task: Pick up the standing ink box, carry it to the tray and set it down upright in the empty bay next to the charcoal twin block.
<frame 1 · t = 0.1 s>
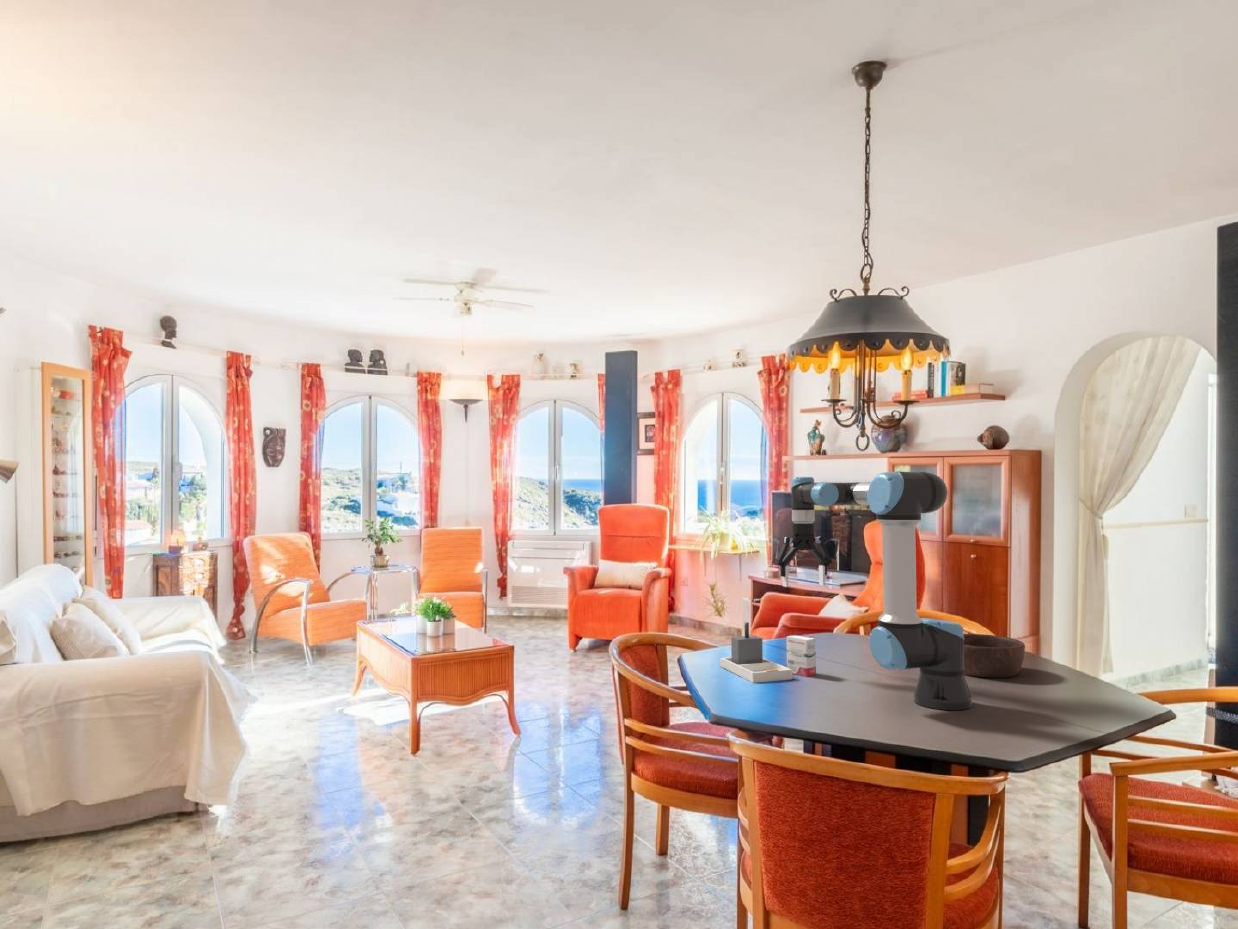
hand: (803, 585, 258), 28 cm above the table, fingers open, 13 cm apart
ink box: (801, 674, 251), on the table
tray: (755, 673, 251), on the table
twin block: (747, 669, 257), resting on tray
wooden bowl: (982, 672, 253), on the table
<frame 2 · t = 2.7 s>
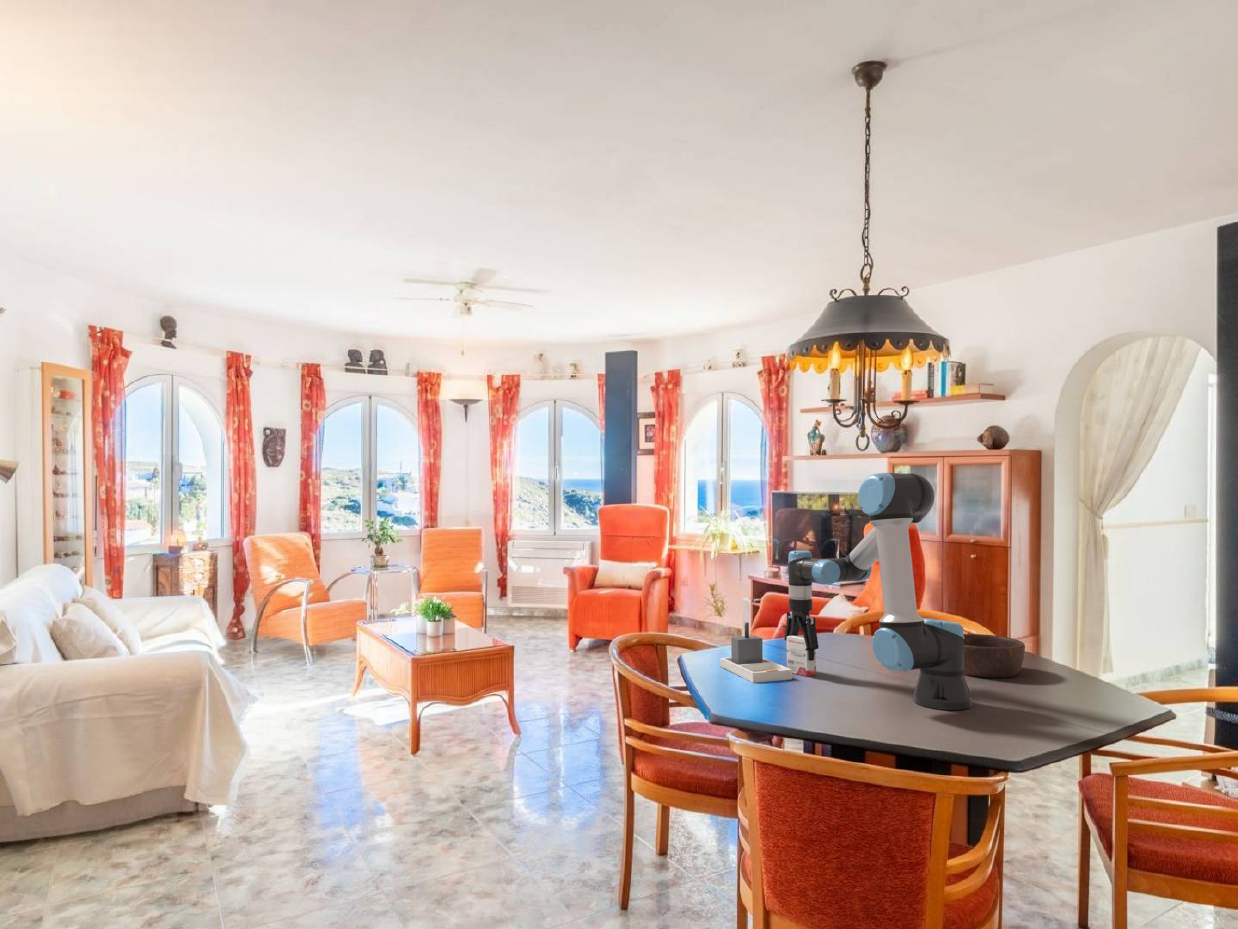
hand: (801, 666, 251), 2 cm above the table, fingers closed on ink box, 9 cm apart
ink box: (801, 674, 251), on the table, touching gripper
everything else where it was.
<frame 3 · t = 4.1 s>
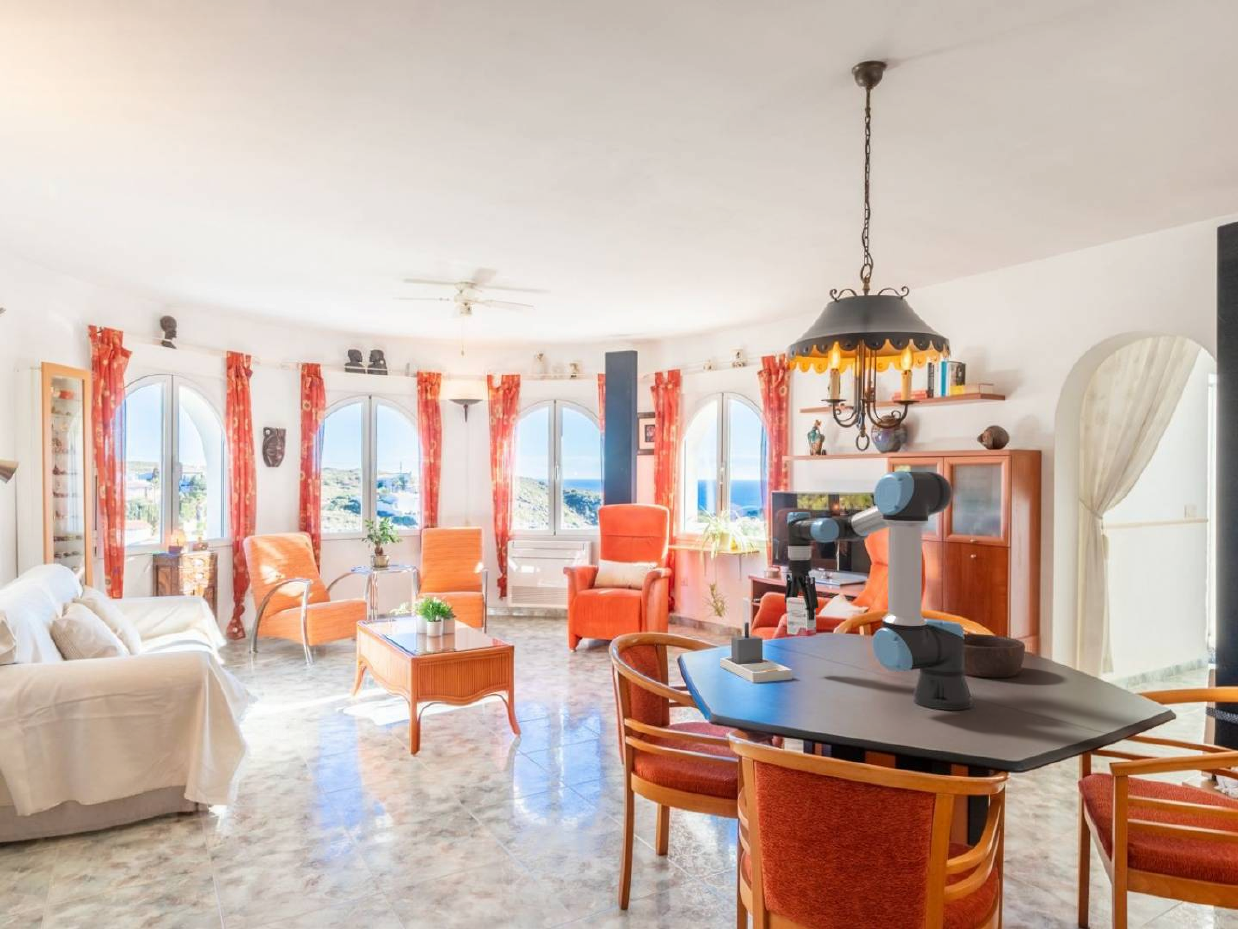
hand: (801, 627, 251), 15 cm above the table, fingers closed on ink box, 9 cm apart
ink box: (801, 635, 251), point 13 cm above the table, touching gripper
everything else where it was.
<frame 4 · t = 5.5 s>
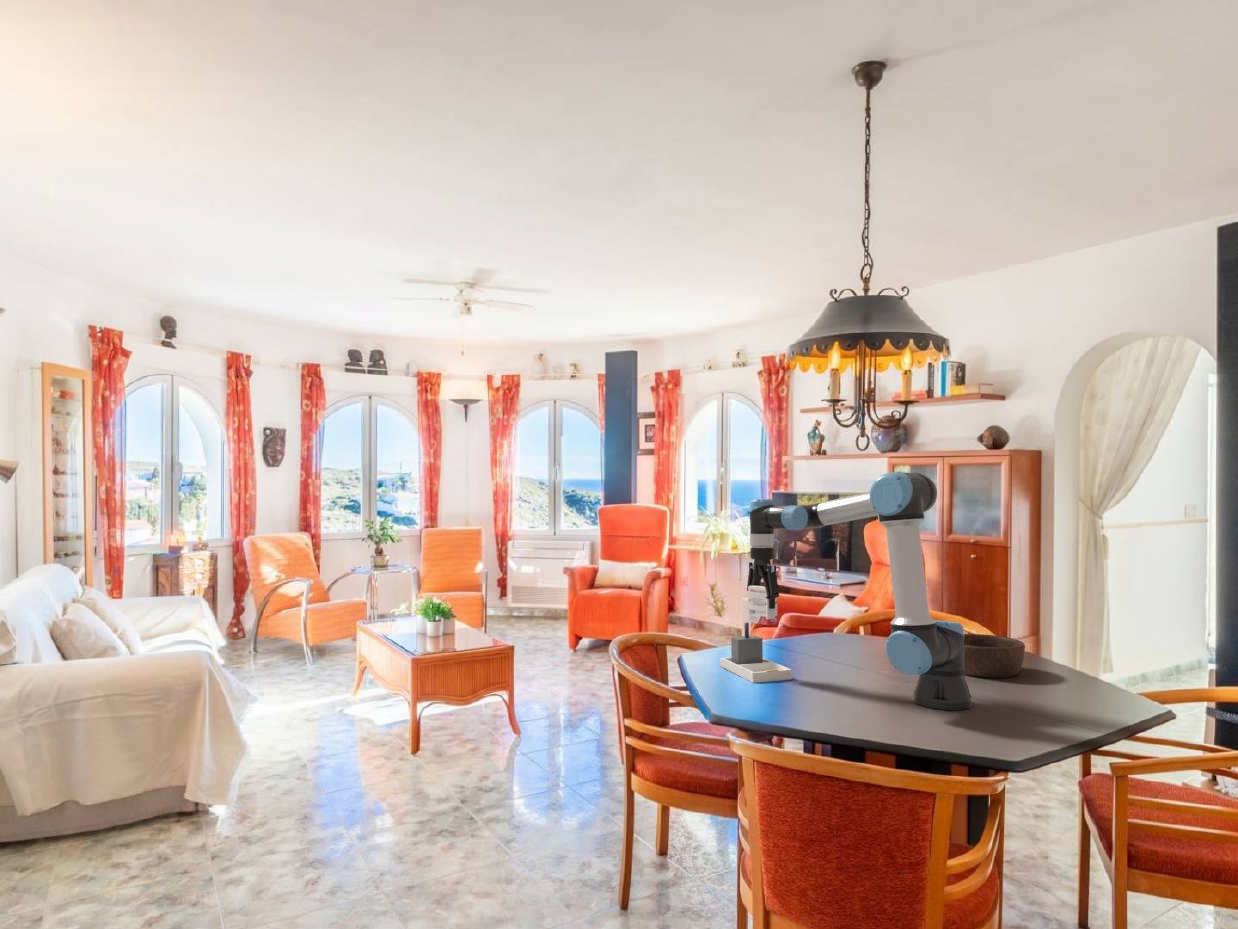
hand: (762, 616, 247), 19 cm above the table, fingers closed on ink box, 9 cm apart
ink box: (762, 623, 247), point 17 cm above the table, touching gripper
everything else where it was.
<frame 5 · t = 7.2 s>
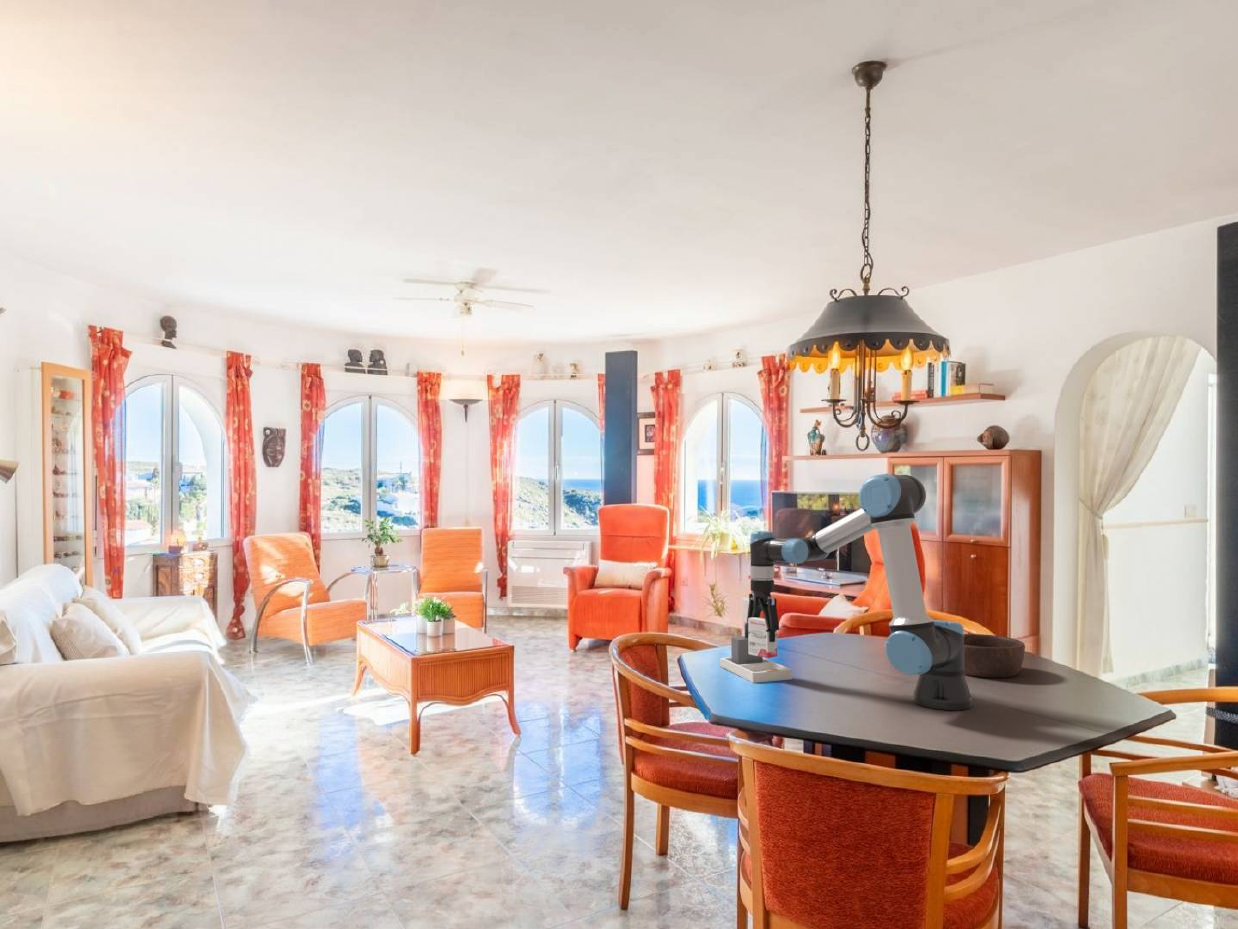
hand: (762, 648, 247), 9 cm above the table, fingers closed on ink box, 9 cm apart
ink box: (762, 656, 246), point 7 cm above the table, touching gripper
everything else where it was.
when the fingers open (4 cm above the table, at t = 8.6 s): ink box drops 2 cm, resting on tray.
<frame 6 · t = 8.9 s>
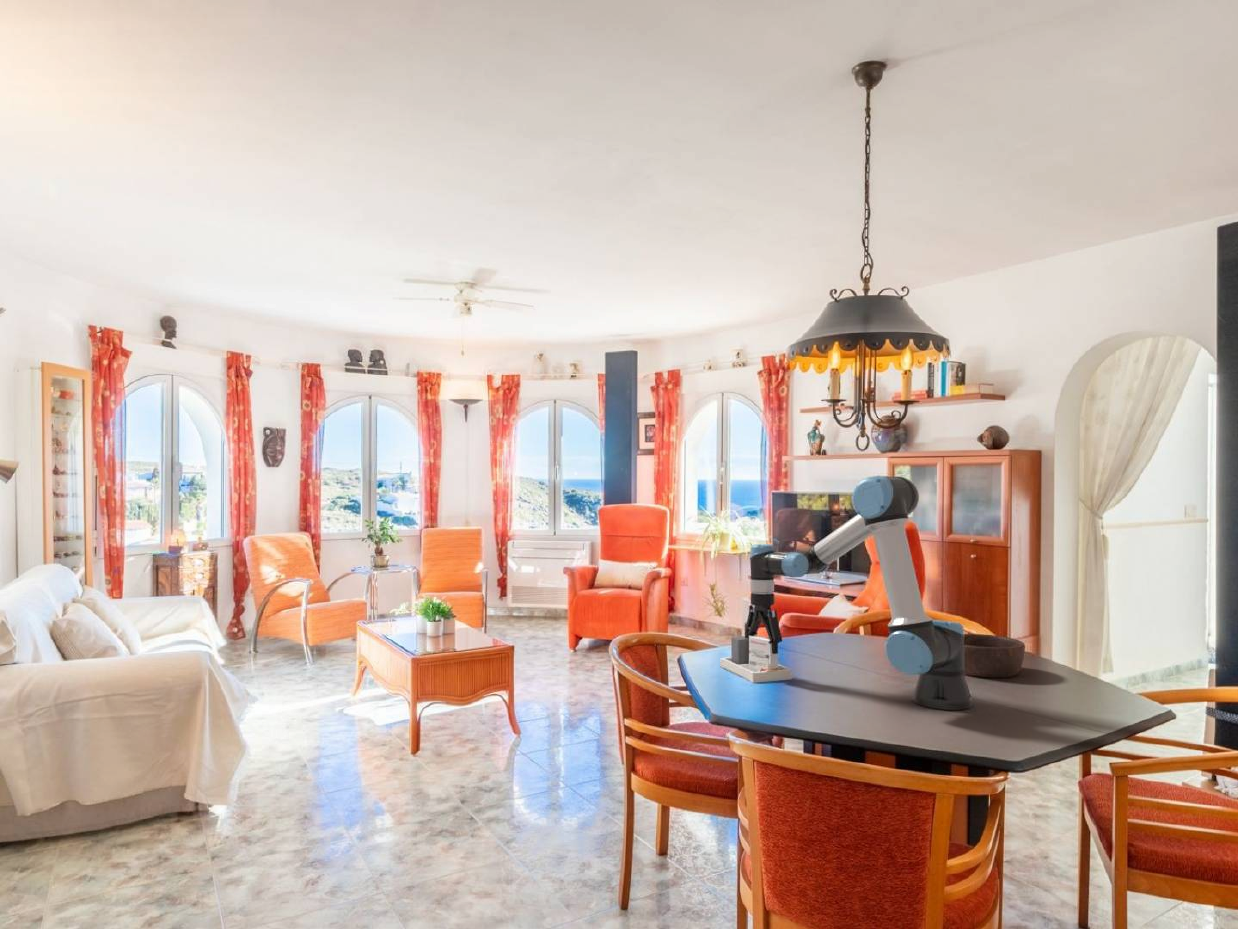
hand: (763, 659, 246), 5 cm above the table, fingers open, 12 cm apart
ink box: (763, 675, 246), resting on tray
everything else where it was.
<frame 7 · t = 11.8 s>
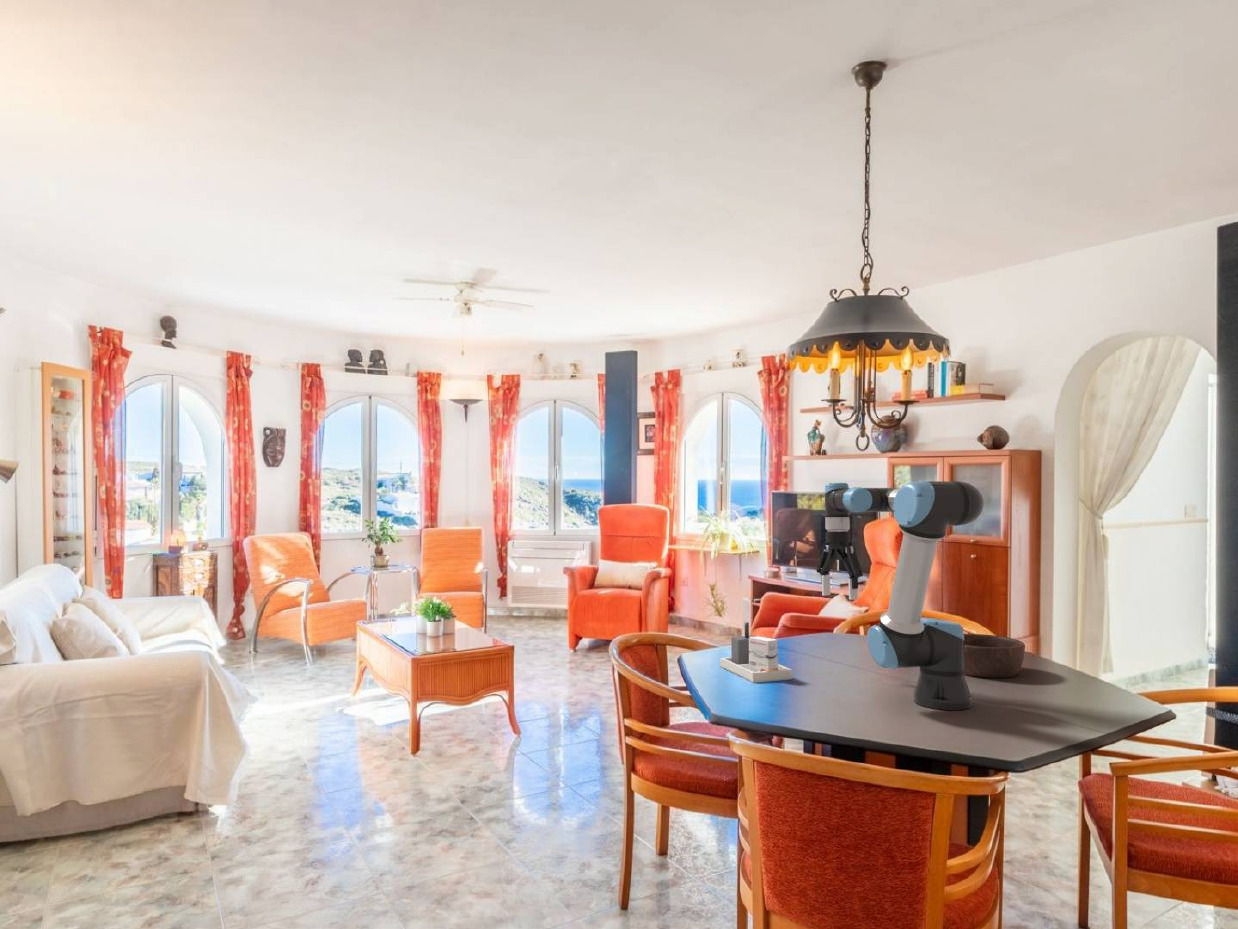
hand: (839, 597, 245), 26 cm above the table, fingers open, 13 cm apart
nothing on the table moved.
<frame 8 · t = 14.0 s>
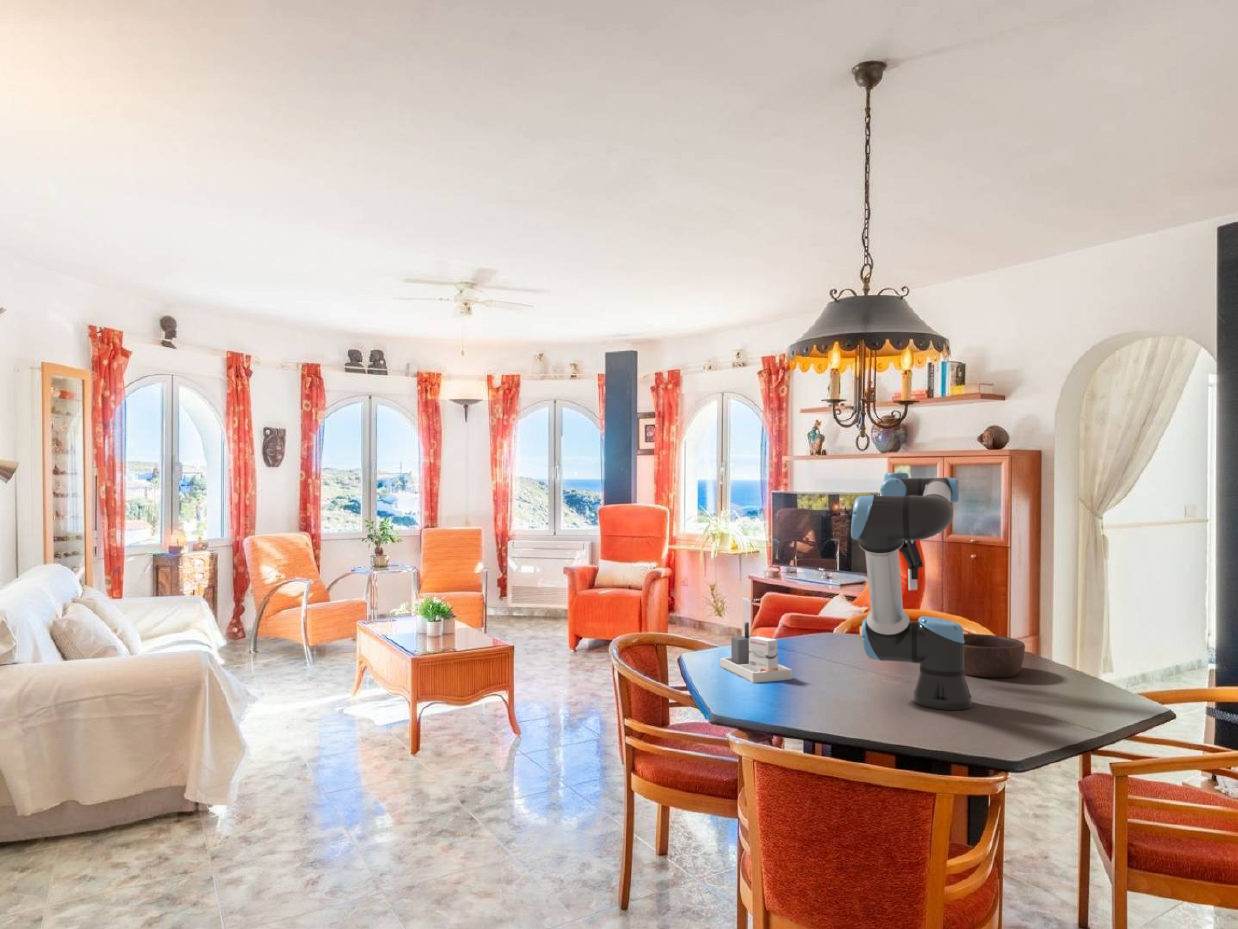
hand: (898, 587, 245), 29 cm above the table, fingers open, 13 cm apart
nothing on the table moved.
at the end: ink box inside the target area on the tray (0.0 cm from its centre), point 0.3 cm above the tray's base; ink box tilted 0°; the gripper is holding nothing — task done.
